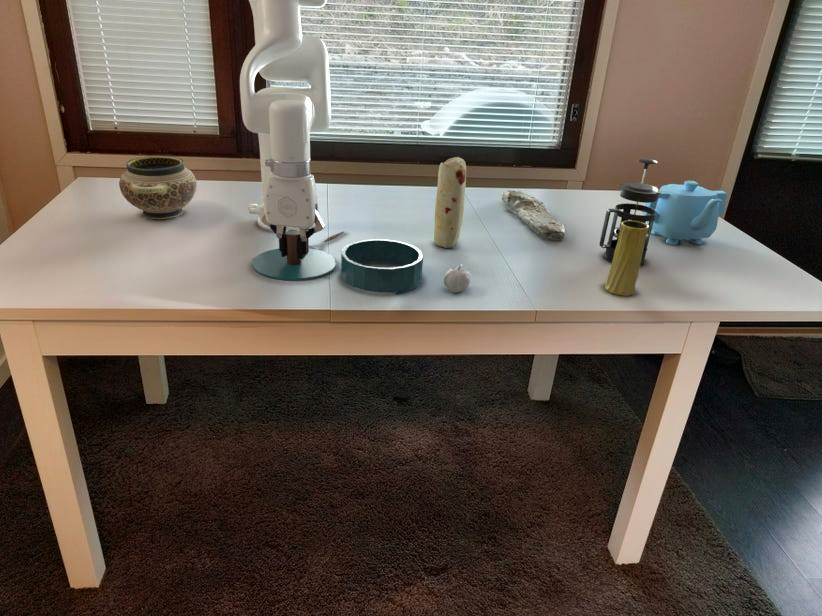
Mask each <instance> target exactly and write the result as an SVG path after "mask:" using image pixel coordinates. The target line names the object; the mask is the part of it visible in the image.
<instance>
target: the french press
mask: <svg viewBox="0 0 822 616" xmlns="http://www.w3.org/2000/svg"><path fill="white" fill-rule="evenodd" d="M636 162H638V163H641V164H643V169H644V170H643V174H642V179H641V182H634V181H633V182H630V181H629V182H623V183H620V184H619V188H620V193H619V196H620V197H621V198H622V199H624V200H627V201H631V202H634V203H627V202H625V203H619V204H616V205H615V206H614V208H607V209H606V211H605V216H604V220H603V225H602V230H601V235H600V239H599V243H598V244H599V245H598V246H599V247H601V249H605V251H604V253H603V259H604V260H605V261H606V262H608V263H610V264H612V261H613V257H614V253H615V249H616V246H617V242H618V238H619V233H620V228H621V224H622V222H623V221H626V220H633V221H640V222H643V223H646V224H647V221H649V224H648V226H649V228H648V231H647V236H646V240H645V245H644V249H643V254H642V259H641V263H640V267H642V266H644V265H645V264H646V256H647V253H648V245H649V241H650V237H651V234H652V233H651V232H652V231H653V230H652V226H653V222H654V219H655V217H656V213H657V212H656V210H654V209H653V208H650V207H647V206H644V205H645V203H652V202H655V201H657V199H658V196H659V194H661V193H662V189H660V188H661V187H658V186H656V185H654V184H649V183H644V182H645V181H644V180H645V176H646V171H647V170H648V169H649V166H650V165H657V164H658V161H657V160H655V159H652V158H638V159H637V160H636ZM635 202H636V203H635ZM639 203H644V205H643V204H639ZM622 210H623V211H622ZM632 210H634V212H633V213H631V211H632ZM637 211H639V212H642V211H643V212H647V213H649V214H651V215H645V214H644V215H642V214H641V215H640V214H636V213H637ZM643 212H642V213H643ZM611 213H613V217H612V222H611V226H610V231H609V236H608V240H607V242H606V244H605V240H606V235H607V230H608V226H609V221H610V217H611ZM618 217H619V218H620V223H619V226H617V227H616V225H617V221H618ZM614 237H615V238H616V239H614Z"/></svg>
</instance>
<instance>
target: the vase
mask: <svg viewBox="0 0 822 616" xmlns="http://www.w3.org/2000/svg"><path fill="white" fill-rule="evenodd" d="M648 228H649V226H648V225H647V222H646V223H643V222H640V221H633V220H626V221H623V222H622V224H621V228H620V233H619V238H618V242H617V246H616V249H615V253H614V257H613V261H612V263H610V264H611V265H610V268H609V271H608V275H607V279H606V282H605V285H604V289H605V291H607V292H608V293H610V294H613V295H617V296H622V297H629V296H633V295H634V294H635V293H636V284H637V281H638V277H639V272H640V267H641V266H640V263H641V259H642V254H643V249H644V245H645V240H646V236H647V231H648Z"/></svg>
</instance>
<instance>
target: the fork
mask: <svg viewBox="0 0 822 616" xmlns="http://www.w3.org/2000/svg"><path fill="white" fill-rule="evenodd" d="M344 233H345V231H341V232H338V233H337V234H334V235H331V236H329V237H327V238H326V239H325V240H324V241H322V242H321V243H322V244H324V243H326V242H329V241H332V240H334V239H336V238H337V237H338V236H340V235H342V234H344ZM309 248H311V249H316V250H317V248H316V247H314V246H312V245H309Z"/></svg>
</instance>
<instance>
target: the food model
mask: <svg viewBox="0 0 822 616" xmlns="http://www.w3.org/2000/svg"><path fill="white" fill-rule="evenodd" d="M466 183H467V164H466V161H465V160H464V159H463V158H461V157H459V156H455V157H450V158H448V159H447V160H445V161H444V162H440V164H439V167H438V175H437V185H436V193H435V194H436V195H435V196H436V197H435V204H434V205H435V206H434V223H433V224H434V225H433V241H434V244H435V245H436V246H438V247H441V248H444V249H449V248H453V247H454V246H456V244H457V243H458V241H459V238H460V234H461V228H462V224H463V220H464V212H465V211H464V210H465V197H466V196H465V195H466V185H467V184H466Z"/></svg>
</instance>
